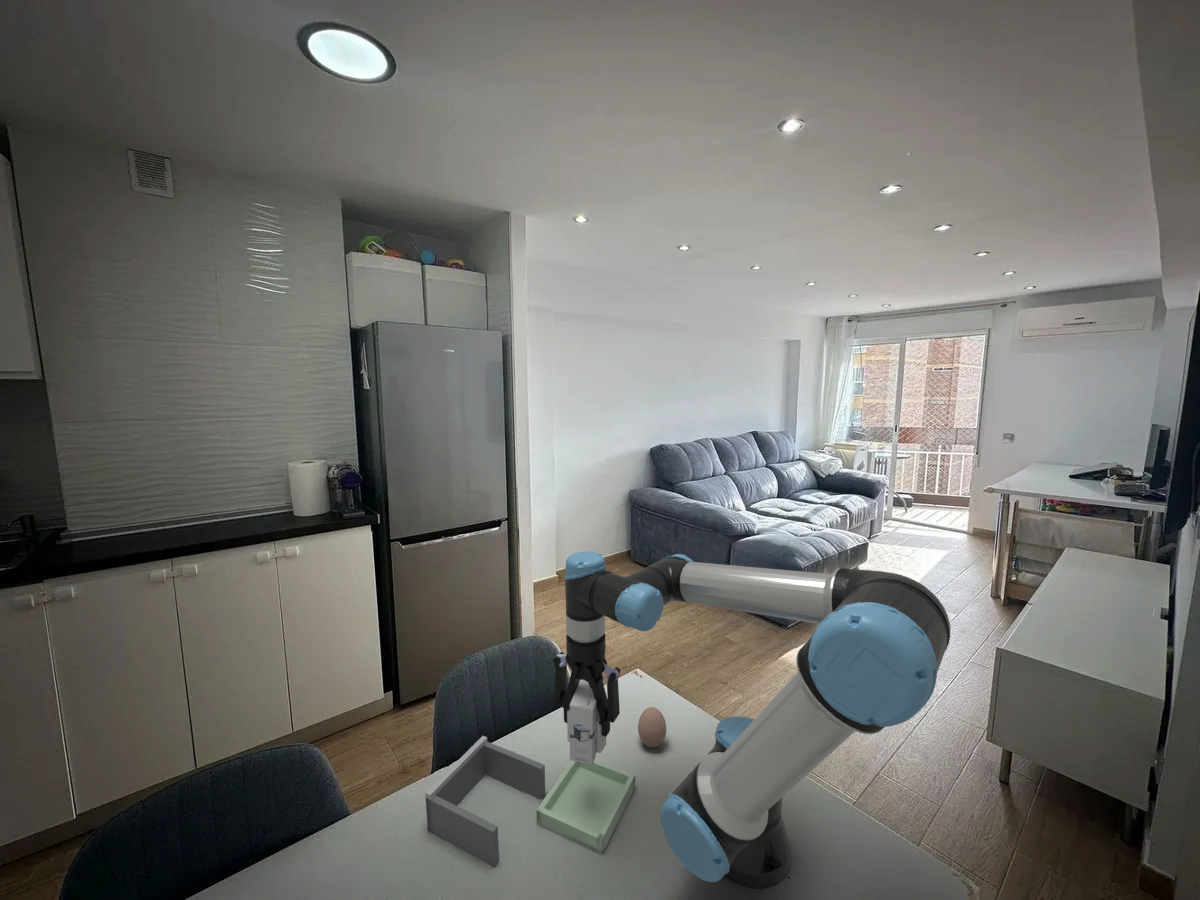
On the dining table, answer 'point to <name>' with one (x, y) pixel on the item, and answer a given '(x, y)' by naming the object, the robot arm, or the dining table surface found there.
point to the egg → (652, 727)
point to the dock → (459, 782)
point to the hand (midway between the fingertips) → (586, 742)
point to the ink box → (583, 724)
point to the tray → (587, 803)
